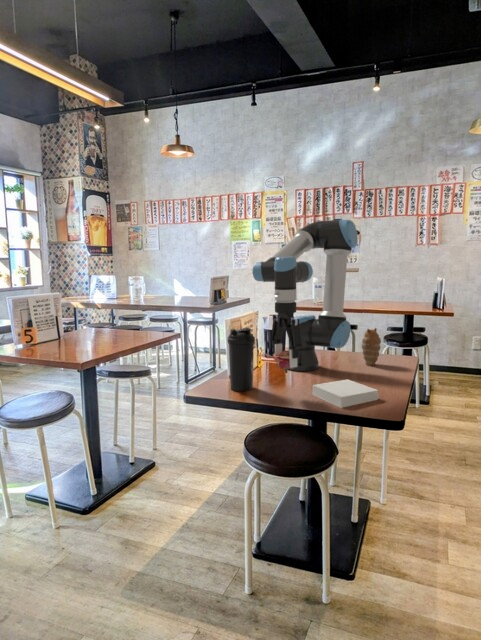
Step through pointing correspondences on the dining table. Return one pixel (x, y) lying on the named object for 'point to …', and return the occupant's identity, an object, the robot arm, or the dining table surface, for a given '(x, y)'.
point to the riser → (344, 393)
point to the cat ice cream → (371, 347)
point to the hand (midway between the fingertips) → (285, 364)
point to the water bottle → (241, 359)
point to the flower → (283, 360)
